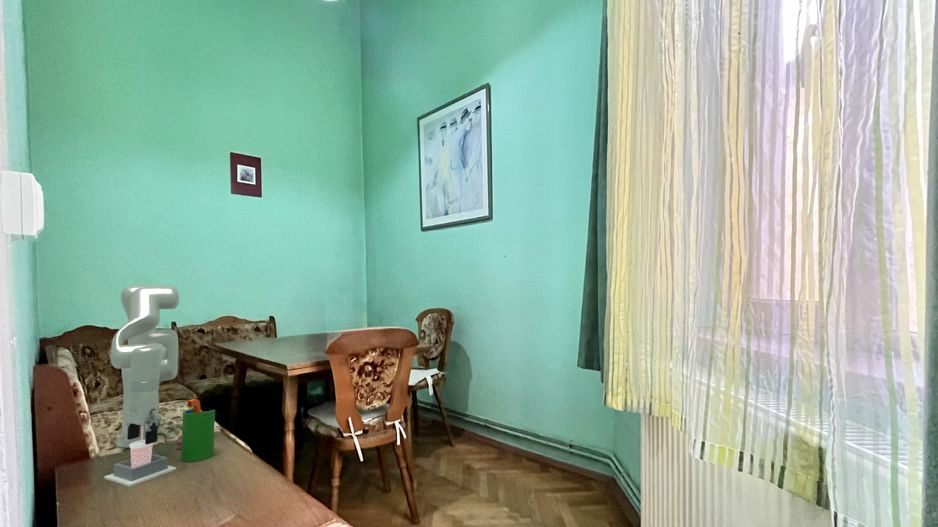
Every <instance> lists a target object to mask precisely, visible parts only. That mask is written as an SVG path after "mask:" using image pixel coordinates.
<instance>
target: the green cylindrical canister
mask: <svg viewBox="0 0 938 527" xmlns="http://www.w3.org/2000/svg"><path fill="white" fill-rule="evenodd" d="M186 404H187V405H186V406H187V408H189V409H186V410H184V411H183V412H182V423H181V425H182V426H181V435H182V442H181V449H180V461H181V462H183V463H184V462H186V463H188V462H189V463H191V462H198V461H204V460H207V459H209V458H212V457H213V456H214V445H215V425H216V424H215V423H216V422H215V421H216V409H211V410H209V411H206V410H205V411H204V410H203V411H202V410H201V402H200V400H199V399H198V398H197V399H196V398H195V399H194V398H192V399H190V400H187V403H186Z"/></svg>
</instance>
